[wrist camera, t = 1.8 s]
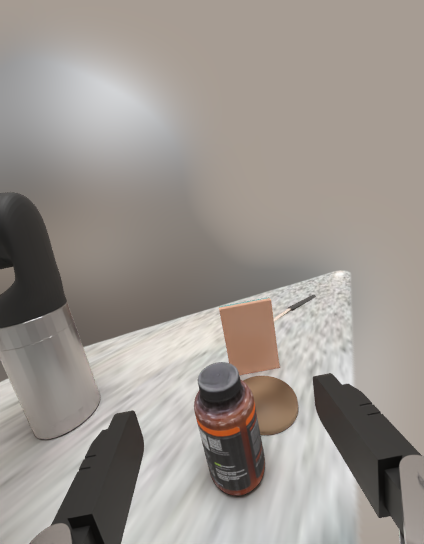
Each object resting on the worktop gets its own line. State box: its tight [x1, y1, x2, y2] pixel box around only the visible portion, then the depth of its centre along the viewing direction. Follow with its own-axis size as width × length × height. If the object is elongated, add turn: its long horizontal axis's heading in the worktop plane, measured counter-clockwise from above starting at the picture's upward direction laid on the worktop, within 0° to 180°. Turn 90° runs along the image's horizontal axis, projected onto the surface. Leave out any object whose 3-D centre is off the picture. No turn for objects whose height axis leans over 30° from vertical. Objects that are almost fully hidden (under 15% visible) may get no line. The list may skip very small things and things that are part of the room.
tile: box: [219, 298, 280, 375], centre depth 36 cm, size 1×8×12 cm, turn 92°
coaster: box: [244, 376, 298, 435], centre depth 31 cm, size 9×9×1 cm
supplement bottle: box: [194, 362, 265, 495], centre depth 23 cm, size 6×6×11 cm
